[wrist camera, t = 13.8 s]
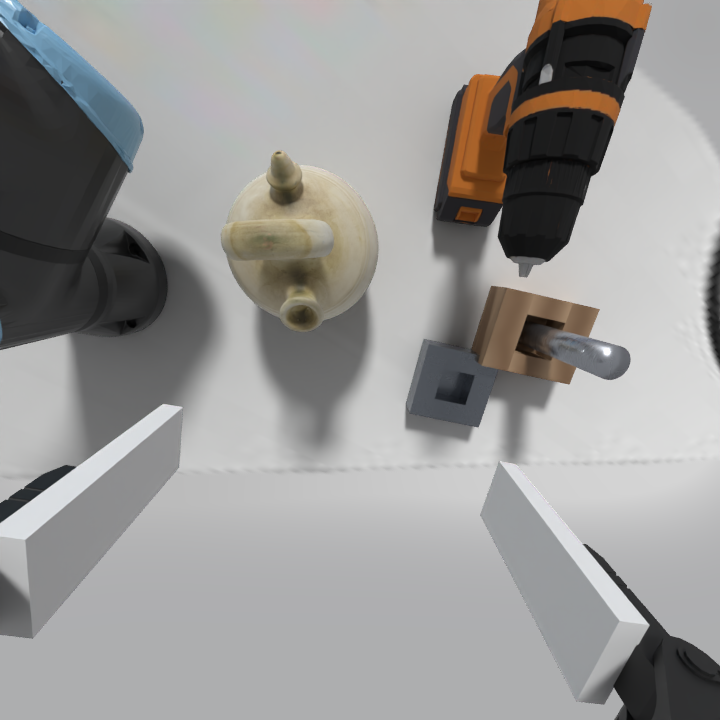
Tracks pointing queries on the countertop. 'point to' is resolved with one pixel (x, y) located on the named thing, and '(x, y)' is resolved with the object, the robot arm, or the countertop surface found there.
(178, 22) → the countertop surface
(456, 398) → the socket block
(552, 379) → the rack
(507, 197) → the power drill
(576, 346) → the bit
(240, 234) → the jug
